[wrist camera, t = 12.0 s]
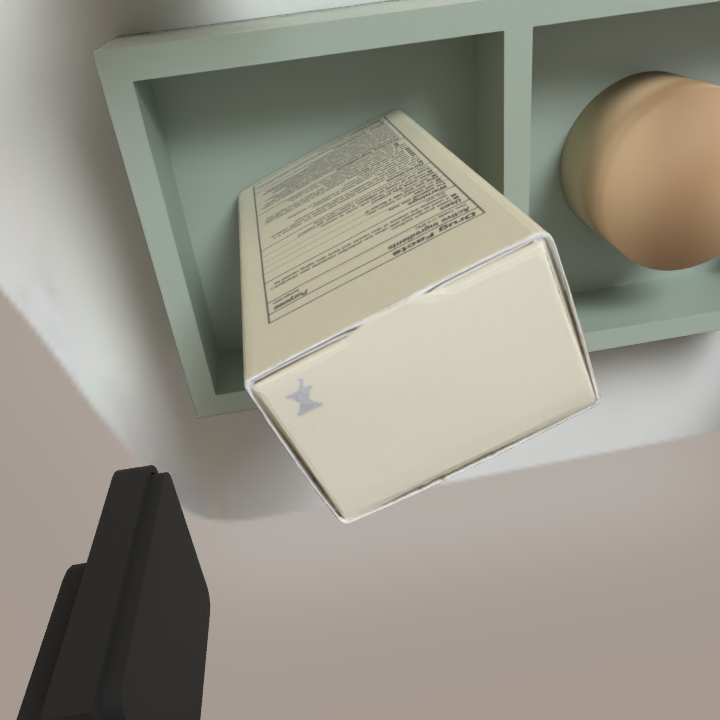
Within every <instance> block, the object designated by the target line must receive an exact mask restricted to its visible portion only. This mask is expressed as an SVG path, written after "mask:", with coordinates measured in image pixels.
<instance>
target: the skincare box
mask: <svg viewBox="0 0 720 720" xmlns="http://www.w3.org/2000/svg"><path fill="white" fill-rule="evenodd" d="M238 215H239V242H240V248H239V249H240V272H241V276H240V277H241V300H242V332H243V363H244V386H245V389H246V391H247V392H248V393H249V395H250V396H251V397H252V399H253V401H254V402H255V403H256V405H257V406H258V408H259V409H260V411H261V413H262V414H263V416H264V417H265V419H266V420H267V422H268V423H269V425H270V426H271V427H272V429H273V430H274V432H275V434H276V435H277V437H278V438H279V440H280V441H281V443H282V444H283V446H284V447H285V448H286V450H287V451H288V453H289V454H290V456H291V457H292V459H293V460H294V461H295V463H296V464H297V466H298V467H299V469H300V470H301V471H302V473H303V474H304V476H305V477H306V478H307V480H308V481H309V482H310V484H311V485H312V487H313V488H314V489H315V491H316V492H317V493H318V495H319V496H320V497H321V499H322V500H323V501H324V502H325V503H326V504H327V506H328V507H329V508H330V509H331V511H332V512H333V514H334V515H335V516H336V517H337V519H338V520H339V521H341V523H350V522H353V521H356V520H358V519H360V518H362V517H364V516H366V515H369V514H372V513H375V512H377V511H378V510H381V509H383V508H385V507H387V506H390V505H392V504H395V503H397V502H399V501H401V500H403V499H406V498H408V497H410V496H412V495H415V494H416V493H418V492H421V491H424V490H426V489H428V488H430V487H431V486H434V485H436V484H438V483H440V482H443V481H445V480H447V479H448V478H450V477H452V476H454V475H457V474H459V473H461V472H463V471H465V470H468V469H470V468H472V467H474V466H476V465H478V464H480V463H482V462H484V461H486V460H488V459H490V458H492V457H494V456H496V455H498V454H500V453H502V452H505V451H506V450H508V449H511V448H513V447H514V446H516V445H518V444H520V443H523V442H525V441H527V440H529V439H531V438H533V437H535V436H537V435H539V434H541V433H543V432H544V431H546V430H548V429H550V428H552V427H555V426H557V425H559V424H560V423H562V422H564V421H566V420H568V419H570V418H572V417H574V416H576V415H578V414H580V413H582V412H584V411H586V410H588V409H590V408H592V407H594V406H596V405H597V404H599V402H600V393H599V390H598V387H597V383H596V380H595V377H594V373H593V368H592V365H591V361H590V357H589V354H588V350H587V346H586V342H585V339H584V335H583V331H582V328H581V325H580V321H579V319H578V316H577V312H576V308H575V305H574V302H573V298H572V294H571V291H570V288H569V285H568V282H567V279H566V276H565V273H564V270H563V266H562V263H561V260H560V257H559V254H558V251H557V247H556V245H555V242H554V239H553V237H552V236H551V235H550V234H549V233H548V232H546V231H545V230H544V229H543V228H541V227H540V226H539V225H538V224H537V223H536V222H534V221H533V220H532V219H531V218H530V217H528V216H527V215H526V214H525V213H524V212H522V211H521V210H520V209H519V208H518V207H516V206H515V205H514V204H513V203H511V202H510V201H509V200H508V199H507V198H506V197H504V196H503V195H502V194H501V193H500V192H498V191H497V190H496V189H495V188H494V187H492V186H491V185H490V184H489V183H488V182H486V181H485V180H484V179H483V178H482V177H480V176H479V175H478V174H477V173H475V172H474V171H473V170H472V169H471V168H469V167H468V166H467V165H466V164H465V163H464V162H463V161H461V160H460V159H459V158H458V157H457V156H455V155H454V154H453V153H452V152H451V151H449V150H448V149H447V148H446V147H444V146H443V145H442V144H441V143H440V142H438V141H437V140H436V139H435V138H434V137H433V136H431V135H430V134H429V133H428V132H427V131H425V130H424V129H423V128H422V127H421V126H419V125H418V124H417V123H416V122H415V121H413V120H412V119H411V118H410V117H409V116H408V115H406V114H405V113H404V112H403V111H401V110H398V109H396V110H393V111H391V112H389V113H387V114H385V115H383V116H381V117H379V118H376V119H374V120H372V121H370V122H368V123H366V124H364V125H362V126H360V127H358V128H356V129H354V130H352V131H351V132H349V133H347V134H345V135H343V136H341V137H339V138H337V139H335V140H333V141H331V142H329V143H327V144H326V145H324V146H322V147H320V148H318V149H316V150H315V151H313V152H311V153H309V154H307V155H305V156H303V157H302V158H300V159H298V160H296V161H294V162H293V163H291V164H289V165H287V166H285V167H284V168H282V169H280V170H278V171H276V172H275V173H273V174H271V175H269V176H268V177H266V178H264V179H263V180H261V181H259V182H257V183H256V184H254V185H253V186H251V187H249V188H247V189H245V190H244V191H242V192H241V193H240V194H239V195H238Z"/></svg>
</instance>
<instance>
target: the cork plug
mask: <svg viewBox="0 0 720 720" xmlns="http://www.w3.org/2000/svg"><path fill="white" fill-rule="evenodd" d="M560 181H561V188H562V191H563V195H564V198H565V200H566V202H567V204H568V206H569V207H570V209H571V210H572V212H573V213H574V214H575V215H576V216H577V217H578V218H579V219H580V220H581V221H582V222H584V223H585V224H586V225H587V226H589V227H590V228H591V229H593V230H594V231H595V232H596V233H598V234H599V235H600V236H601V237H603V238H604V239H605V240H606V241H608V242H609V243H610V244H611V245H613V246H614V247H615V248H616V249H618V250H619V251H620V252H621V253H623V254H624V255H625V256H626V257H628V258H629V259H630V260H632V261H633V262H635V263H637V264H639V265H641V266H643V267H647V268H650V269H655V270H661V271H673V270H682V269H686V268H691V267H694V266H697V265H700V264H703V263H705V262H707V261H709V260H711V259H713V258H715V257H717V256H718V255H720V86H717V85H713V84H709V83H706V82H702V81H699V80H695V79H692V78H688V77H685V76H681V75H677V74H674V73H670V72H664V71H647V72H641V73H637V74H633V75H630V76H628V77H625V78H623V79H621V80H619V81H617V82H615V83H613V84H611V85H610V86H608V87H607V88H605V89H604V90H603V91H601V92H600V93H599V94H598V95H597V96H595V97H594V98H593V99H592V100H591V101H590V102H589V103H588V105H587V106H586V107H585V108H584V109H583V111H582V112H581V113H580V114H579V116H578V117H577V119H576V121H575V122H574V124H573V125H572V127H571V130H570V132H569V134H568V136H567V138H566V141H565V144H564V147H563V151H562V156H561V162H560Z"/></svg>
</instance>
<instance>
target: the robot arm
mask: <svg viewBox="0 0 720 720" xmlns="http://www.w3.org/2000/svg"><path fill="white" fill-rule="evenodd" d="M209 617H210V599H209V592H208V588H207V585H206V582H205V579H204V576H203V573H202V570H201V567H200V564H199V561H198V558H197V555H196V551H195V548H194V545H193V542H192V539H191V536H190V533H189V530H188V528H187V524H186V521H185V518H184V515H183V512H182V509H181V506H180V503H179V500H178V497H177V494H176V491H175V487H174V484H173V481H172V479H171V476H170V474H169V473H167V472H166V473H158V471H157V469H156V468H155V466H153V465H150V466H143V467H137V468H131V469H124V470H118V471H116V472H115V473H114V475H113V477H112V480H111V484H110V487H109V490H108V494H107V497H106V500H105V504H104V507H103V510H102V514H101V517H100V520H99V524H98V527H97V530H96V534H95V537H94V540H93V544H92V547H91V550H90V554H89V557H88V560H87V563H83V564H77V565H72V566H71V567H70V568H69V569H68V570H67V572H66V574H65V576H64V578H63V581H62V584H61V587H60V590H59V593H58V596H57V599H56V602H55V606H54V608H53V611H52V614H51V617H50V621H49V623H48V626H47V630H46V632H45V636H44V639H43V641H42V645H41V648H40V651H39V654H38V657H37V660H36V663H35V666H34V669H33V672H32V675H31V678H30V681H29V684H28V687H27V690H26V693H25V696H24V699H23V702H22V705H21V708H20V711H19V714H18V717H17V720H200V717H201V706H202V695H203V683H204V672H205V662H206V651H207V640H208V629H209Z"/></svg>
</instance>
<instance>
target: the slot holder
mask: <svg viewBox="0 0 720 720" xmlns="http://www.w3.org/2000/svg"><path fill="white" fill-rule="evenodd" d="M92 54H93V58H94V61H95V65H96V68H97V71H98V75H99V78H100V82H101V85H102V89H103V92H104V96H105V99H106V103H107V106H108V110H109V113H110V117H111V120H112V124H113V127H114V131H115V134H116V138H117V141H118V144H119V148H120V151H121V155H122V158H123V162H124V165H125V169H126V172H127V176H128V179H129V183H130V186H131V190H132V193H133V197H134V200H135V204H136V207H137V211H138V214H139V217H140V221H141V224H142V228H143V231H144V235H145V238H146V242H147V245H148V249H149V252H150V256H151V259H152V263H153V266H154V270H155V273H156V277H157V280H158V283H159V287H160V290H161V294H162V297H163V301H164V304H165V308H166V311H167V315H168V318H169V322H170V325H171V329H172V332H173V336H174V339H175V343H176V346H177V350H178V353H179V356H180V360H181V363H182V367H183V370H184V374H185V377H186V381H187V384H188V388H189V391H190V395H191V398H192V402H193V405H194V409H195V412H196V416H197V419H198V418H204V417H209V416H215V415H221V414H227V413H233V412H239V411H245V410H251V409H257V408H258V406H257V405H256V403H255V402H254V401H253V399H252V397H251V396H250V395H249V393H248V392H247V391H246V389H245V386H244V363H243V332H242V300H241V277H240V276H241V272H240V249H239V248H240V242H239V215H238V195H239V194H240V193H241V192H242V191H244V190H245V189H247V188H249V187H251V186H253V185H254V184H256V183H257V182H259V181H261V180H263V179H264V178H266V177H268V176H269V175H271V174H273V173H275V172H276V171H278V170H280V169H282V168H284V167H285V166H287V165H289V164H291V163H293V162H294V161H296V160H298V159H300V158H302V157H303V156H305V155H307V154H309V153H311V152H313V151H315V150H316V149H318V148H320V147H322V146H324V145H326V144H327V143H329V142H331V141H333V140H335V139H337V138H339V137H341V136H343V135H345V134H347V133H349V132H351V131H352V130H354V129H356V128H358V127H360V126H362V125H364V124H366V123H368V122H370V121H372V120H374V119H376V118H379V117H381V116H383V115H385V114H387V113H389V112H391V111H393V110H396V109H398V110H401V111H403V112H404V113H405V114H406V115H408V116H409V117H410V118H411V119H412V120H413V121H415V122H416V123H417V124H418V125H419V126H421V127H422V128H423V129H424V130H425V131H427V132H428V133H429V134H430V135H431V136H433V137H434V138H435V139H436V140H437V141H438V142H440V143H441V144H442V145H443V146H444V147H446V148H447V149H448V150H449V151H451V152H452V153H453V154H454V155H455V156H457V157H458V158H459V159H460V160H461V161H463V162H464V163H465V164H466V165H467V166H468V167H469V168H471V169H472V170H473V171H474V172H475V173H477V174H478V175H479V176H480V177H482V178H483V179H484V180H485V181H486V182H488V183H489V184H490V185H491V186H492V187H494V188H495V189H496V190H497V191H498V192H500V193H501V194H502V195H503V196H504V197H506V198H507V199H508V200H509V201H510V202H511V203H513V204H514V205H515V206H516V207H518V208H519V209H520V210H521V211H522V212H524V213H525V214H526V215H527V216H528V217H530V218H531V219H532V220H533V221H534V222H536V223H537V224H538V225H539V226H540V227H541V228H543V229H544V230H545V231H546V232H548V233H549V234H550V235H551V236H552V237H553V239H554V242H555V245H556V247H557V251H558V254H559V257H560V260H561V263H562V266H563V270H564V273H565V276H566V279H567V282H568V285H569V288H570V291H571V294H572V298H573V302H574V305H575V308H576V312H577V316H578V319H579V321H580V325H581V328H582V331H583V335H584V339H585V342H586V346H587V350H588V352H592V351H598V350H604V349H610V348H616V347H622V346H628V345H634V344H639V343H645V342H651V341H657V340H663V339H669V338H675V337H681V336H687V335H692V334H698V333H704V332H710V331H716V330H720V255H718V256H717V257H715V258H713V259H711V260H709V261H707V262H705V263H703V264H700V265H697V266H694V267H691V268H686V269H682V270H673V271H661V270H655V269H650V268H647V267H643V266H641V265H639V264H637V263H635V262H633V261H632V260H630V259H629V258H628V257H626V256H625V255H624V254H623V253H621V252H620V251H619V250H618V249H616V248H615V247H614V246H613V245H611V244H610V243H609V242H608V241H606V240H605V239H604V238H603V237H601V236H600V235H599V234H598V233H596V232H595V231H594V230H593V229H591V228H590V227H589V226H587V225H586V224H585V223H584V222H582V221H581V220H580V219H579V218H578V217H577V216H576V215H575V214H574V213H573V212H572V210H571V209H570V207H569V206H568V204H567V202H566V200H565V198H564V195H563V191H562V188H561V181H560V162H561V156H562V151H563V147H564V144H565V141H566V138H567V136H568V134H569V132H570V130H571V127H572V125H573V124H574V122H575V121H576V119H577V117H578V116H579V114H580V113H581V112H582V111H583V109H584V108H585V107H586V106H587V105H588V103H589V102H590V101H591V100H592V99H593V98H594V97H595V96H597V95H598V94H599V93H600V92H601V91H603V90H604V89H605V88H607V87H608V86H610V85H611V84H613V83H615V82H617V81H619V80H621V79H623V78H625V77H628V76H630V75H633V74H637V73H641V72H647V71H664V72H670V73H674V74H677V75H681V76H685V77H688V78H692V79H695V80H699V81H702V82H706V83H709V84H713V85H717V86H720V0H391V1H384V2H376V3H369V4H361V5H354V6H346V7H339V8H331V9H323V10H316V11H308V12H301V13H293V14H286V15H278V16H271V17H263V18H256V19H248V20H241V21H233V22H225V23H218V24H210V25H203V26H195V27H188V28H180V29H173V30H165V31H158V32H150V33H143V34H135V35H127V36H120V37H116V38H114V39H112V40H111V41H109V42H108V43H106V44H105V45H103V46H102V47H100V48H98V49H97V50H95V51H94V52H92Z"/></svg>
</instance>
